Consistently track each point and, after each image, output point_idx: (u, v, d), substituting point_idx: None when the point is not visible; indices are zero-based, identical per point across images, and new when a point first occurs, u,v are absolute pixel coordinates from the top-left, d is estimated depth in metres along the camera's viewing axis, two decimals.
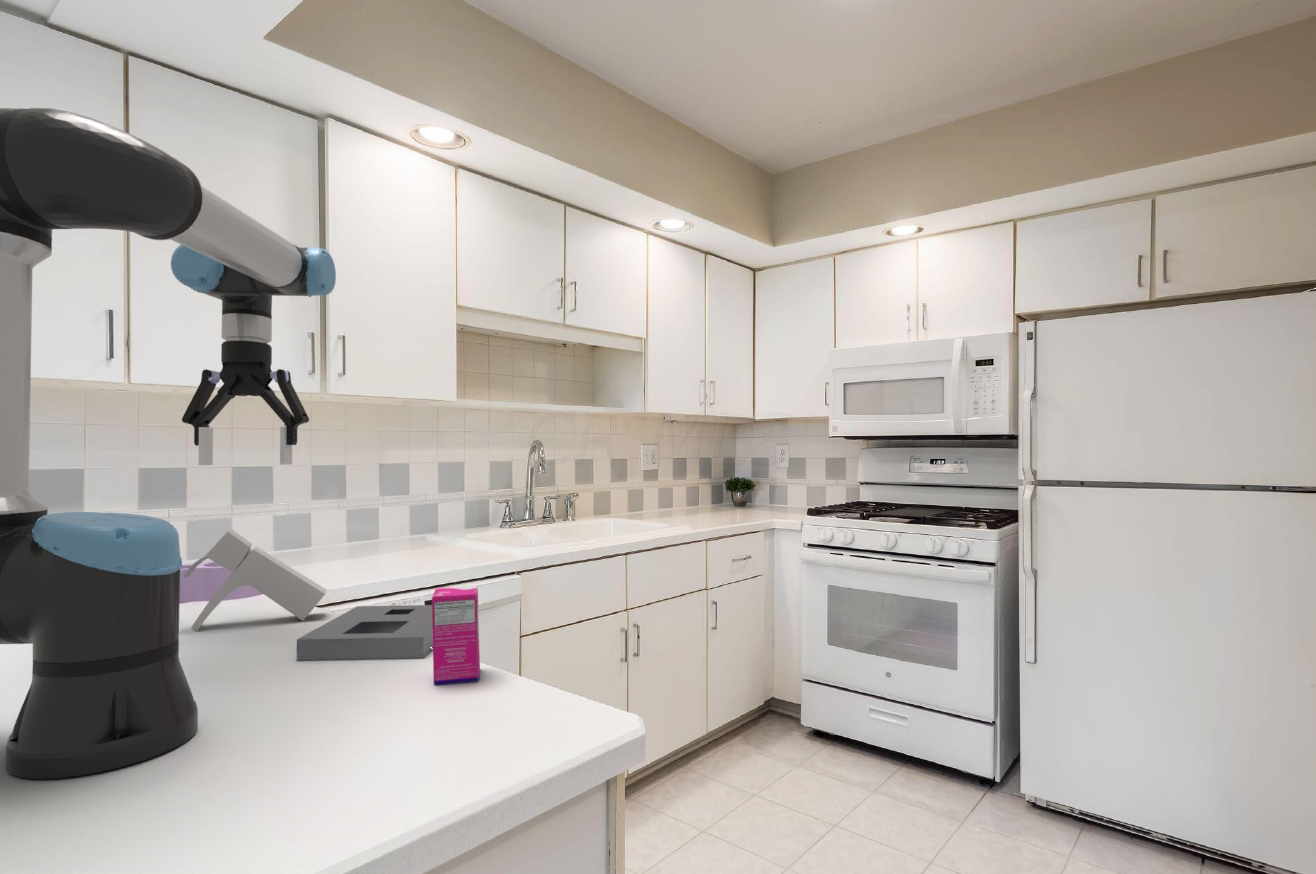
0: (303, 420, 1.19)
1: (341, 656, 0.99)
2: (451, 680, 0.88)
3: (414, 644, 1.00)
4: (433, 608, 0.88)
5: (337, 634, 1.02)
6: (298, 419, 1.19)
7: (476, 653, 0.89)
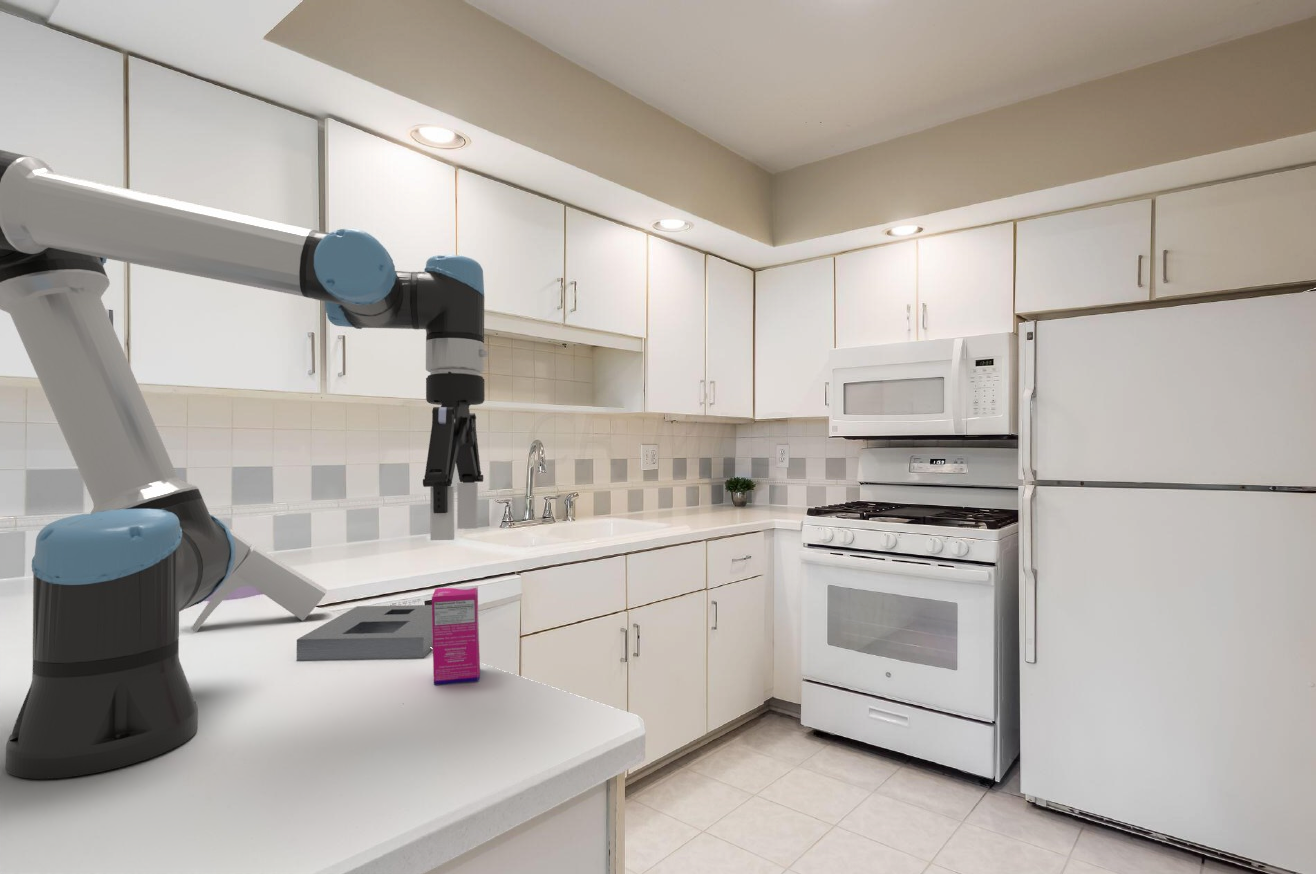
0: (429, 479, 0.82)
1: (341, 656, 0.99)
2: (451, 680, 0.88)
3: (414, 644, 1.00)
4: (433, 608, 0.88)
5: (337, 634, 1.02)
6: None
7: (476, 653, 0.89)
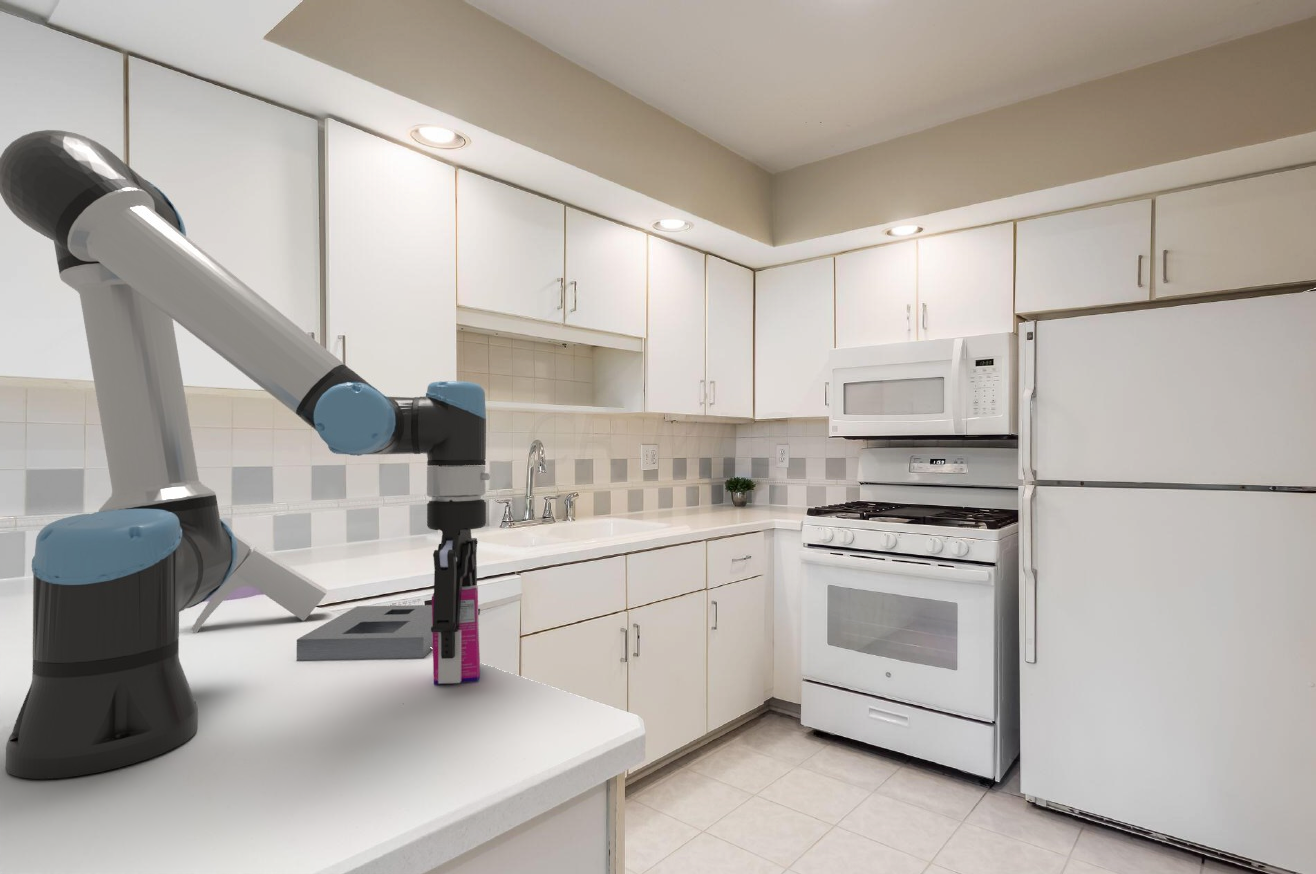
0: (437, 628, 0.85)
1: (341, 656, 0.99)
2: None
3: (414, 644, 1.00)
4: (433, 608, 0.88)
5: (337, 634, 1.02)
6: None
7: (476, 653, 0.89)
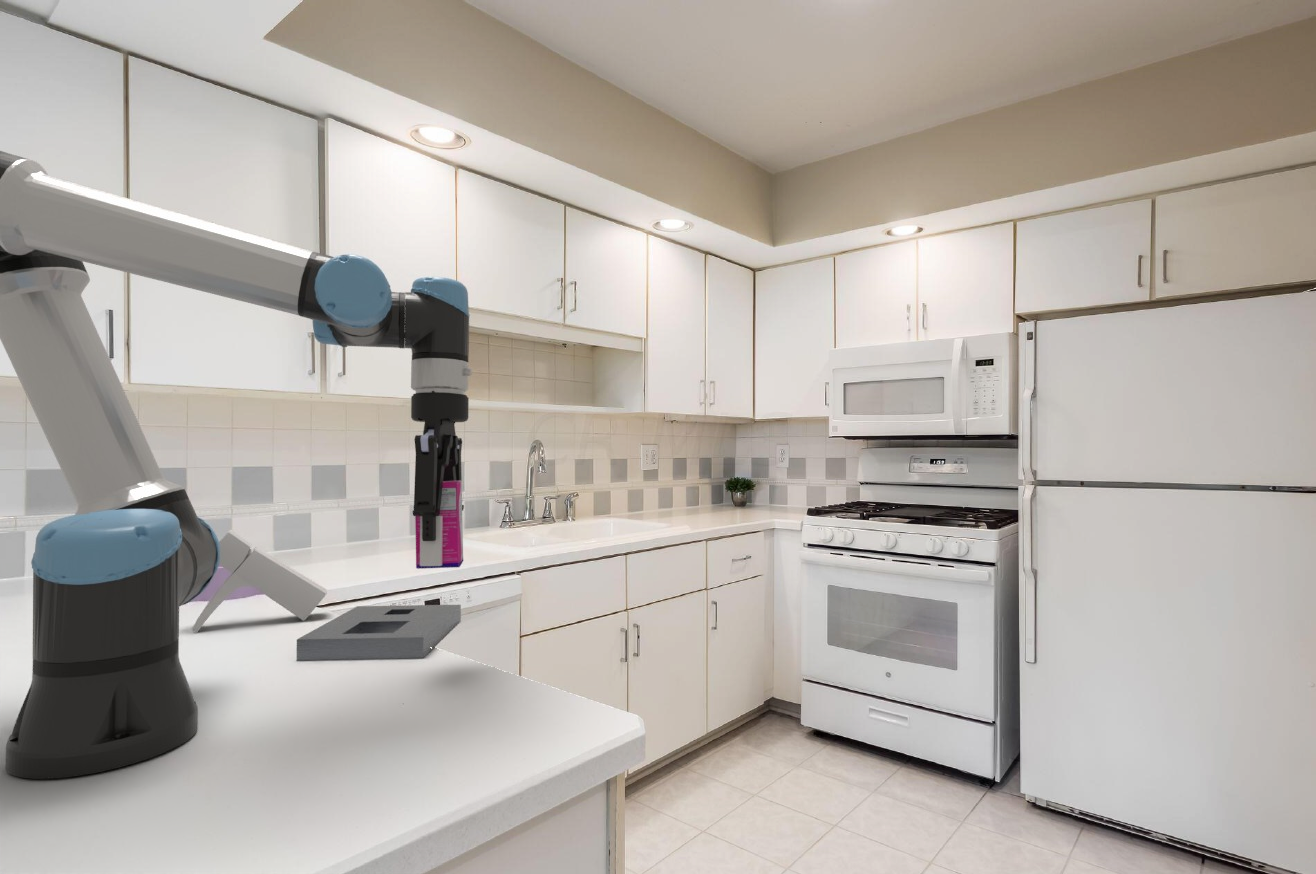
0: (417, 509, 0.88)
1: (341, 656, 0.99)
2: None
3: (414, 644, 1.00)
4: None
5: (337, 634, 1.02)
6: None
7: (457, 539, 0.92)
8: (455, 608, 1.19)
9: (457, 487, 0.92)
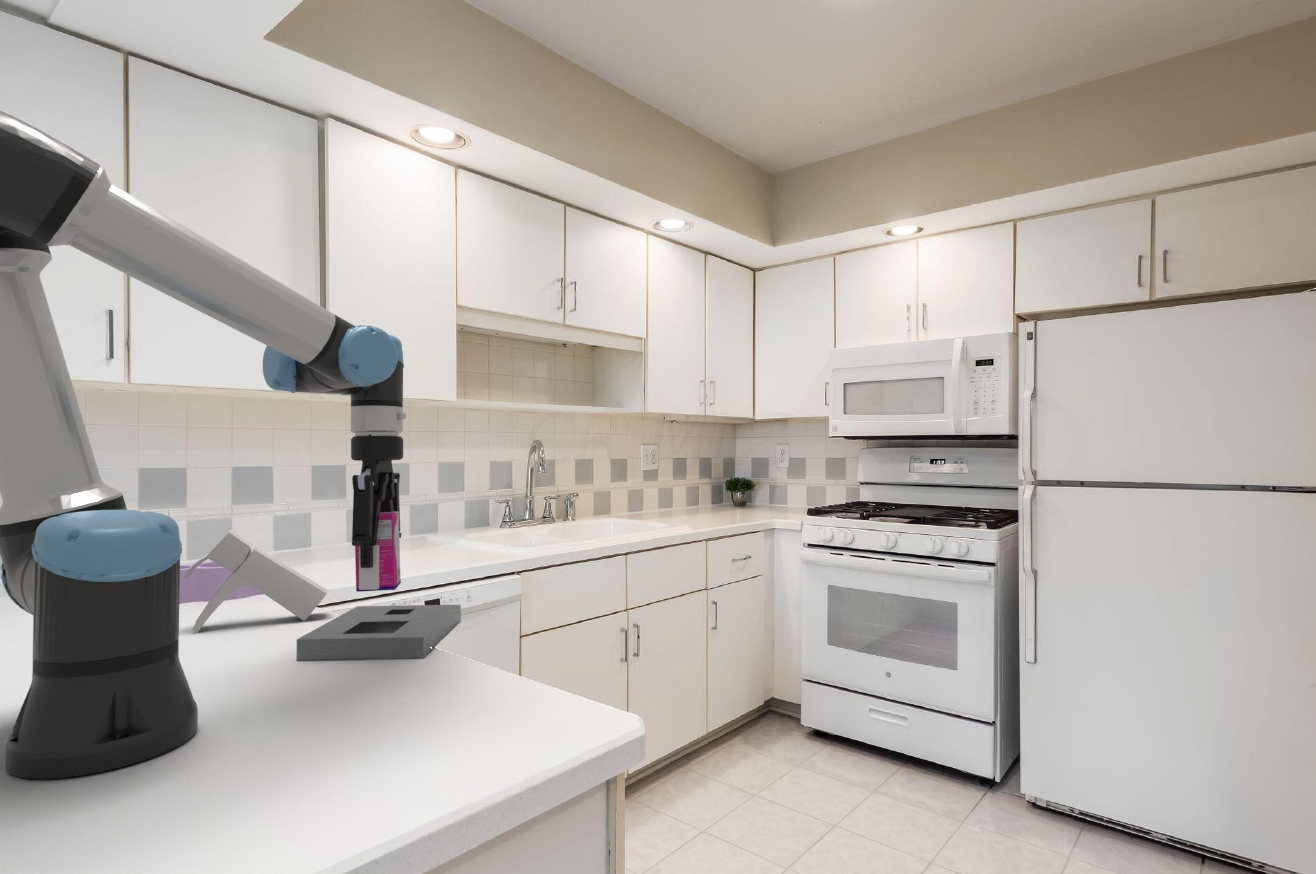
0: (355, 541, 1.00)
1: (341, 656, 0.99)
2: None
3: (414, 644, 1.00)
4: None
5: (337, 634, 1.02)
6: None
7: (393, 565, 1.04)
8: (455, 608, 1.19)
9: (392, 519, 1.04)
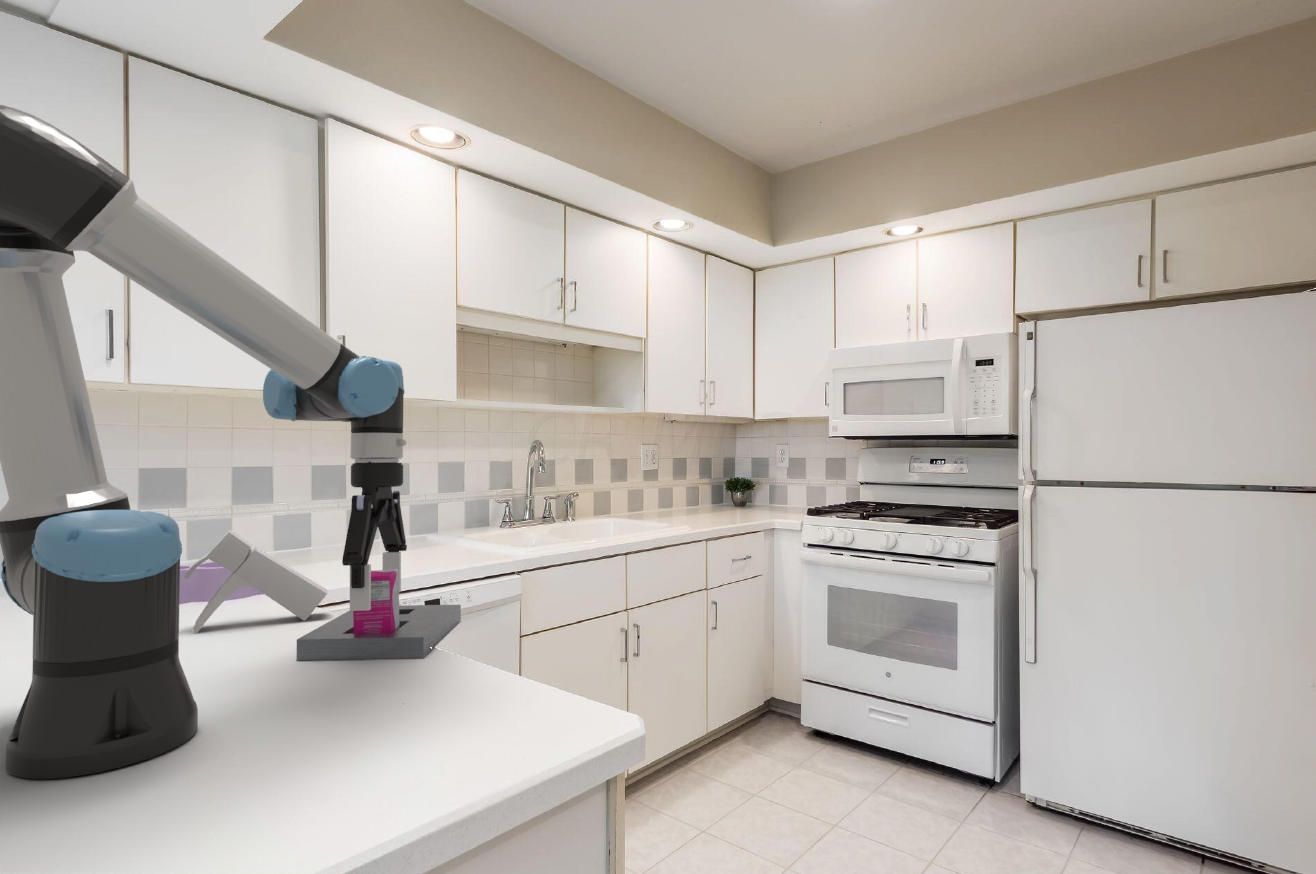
0: (346, 560, 0.97)
1: (341, 656, 0.99)
2: None
3: (414, 644, 1.00)
4: None
5: (337, 634, 1.02)
6: None
7: (391, 626, 1.04)
8: (455, 608, 1.19)
9: (390, 580, 1.04)
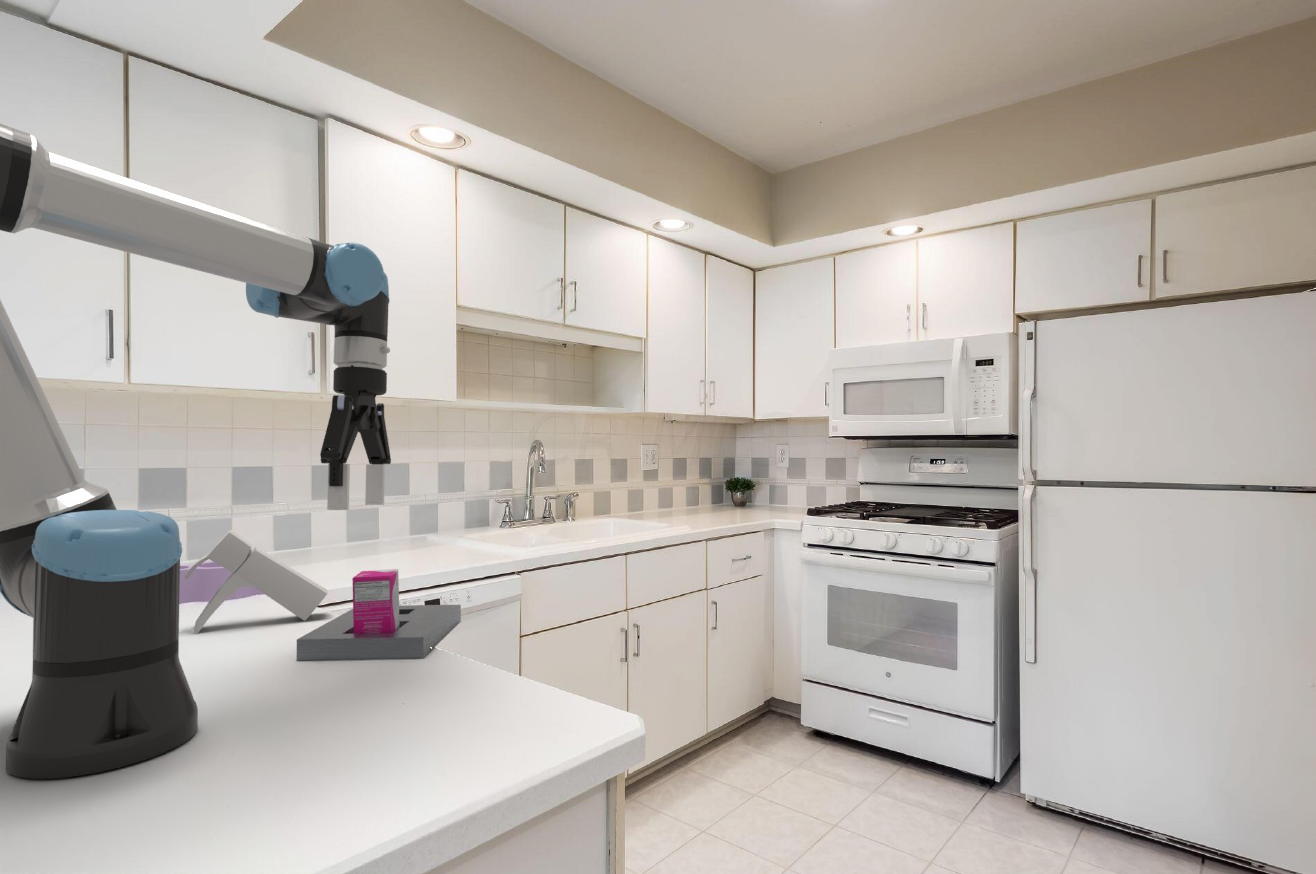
0: (324, 456, 0.95)
1: (341, 656, 0.99)
2: None
3: (414, 644, 1.00)
4: (353, 587, 1.03)
5: (337, 634, 1.02)
6: None
7: (391, 626, 1.04)
8: (455, 608, 1.19)
9: (390, 580, 1.04)
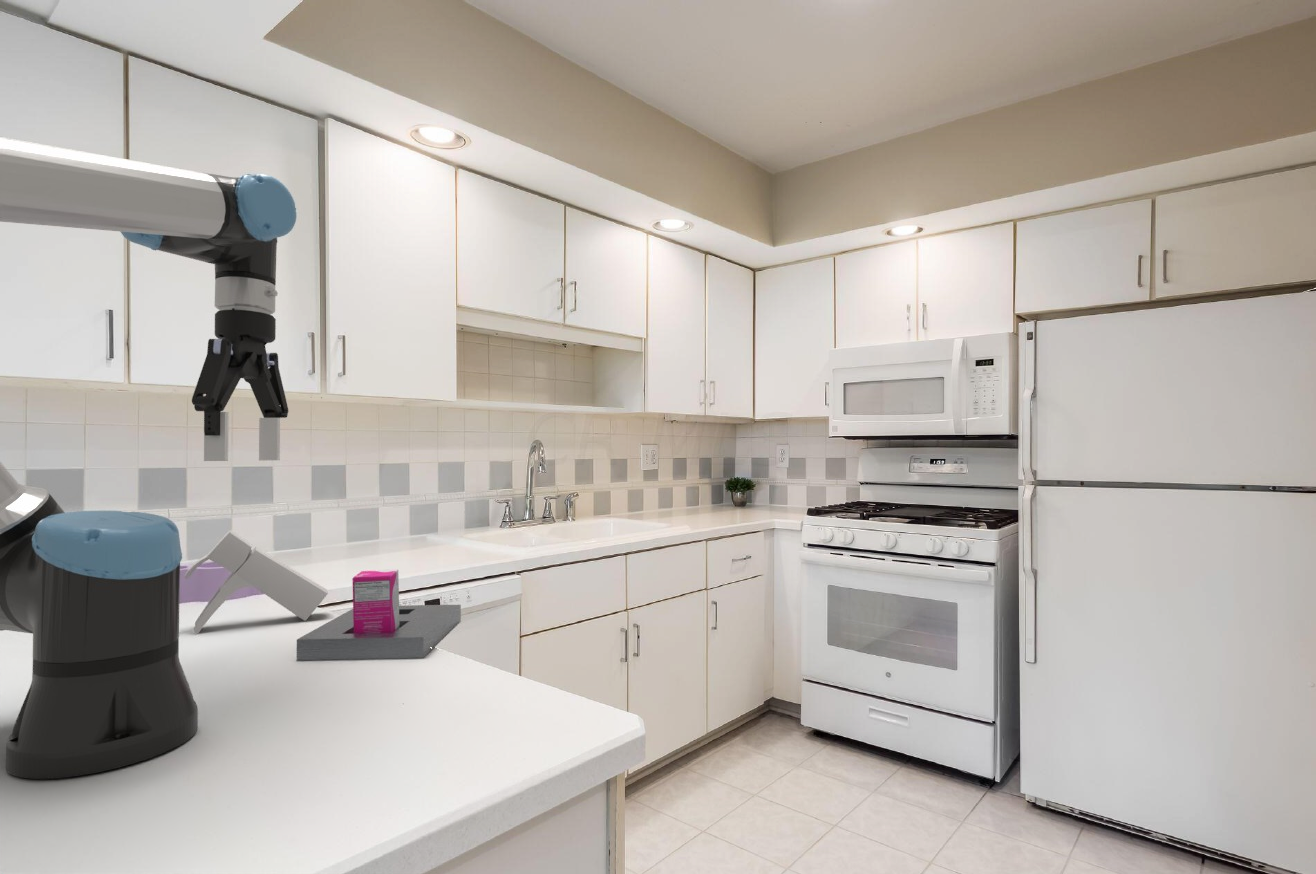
0: (196, 402, 0.89)
1: (341, 656, 0.99)
2: None
3: (414, 644, 1.00)
4: (353, 587, 1.03)
5: (337, 634, 1.02)
6: None
7: (391, 626, 1.04)
8: (455, 608, 1.19)
9: (390, 580, 1.04)
